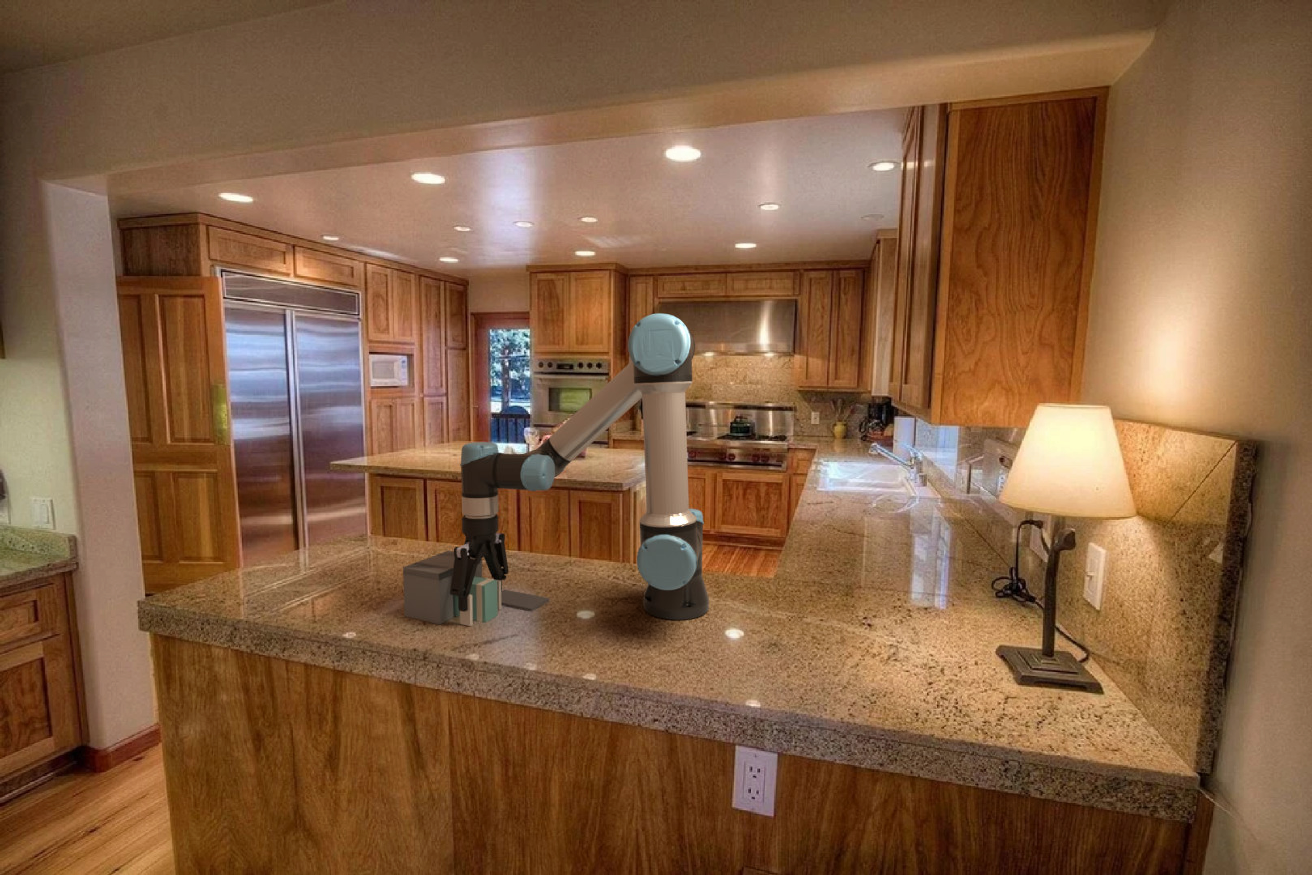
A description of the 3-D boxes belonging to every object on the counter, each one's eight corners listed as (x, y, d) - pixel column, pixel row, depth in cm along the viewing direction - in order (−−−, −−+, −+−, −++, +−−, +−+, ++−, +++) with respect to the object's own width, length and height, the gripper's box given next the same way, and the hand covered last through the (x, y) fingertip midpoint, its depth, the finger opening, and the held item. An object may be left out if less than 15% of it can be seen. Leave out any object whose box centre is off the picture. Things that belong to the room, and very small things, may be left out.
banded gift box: (497, 615, 126) (497, 579, 125) (485, 622, 122) (484, 585, 121) (454, 606, 130) (454, 572, 129) (441, 613, 126) (440, 577, 126)
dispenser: (482, 601, 133) (481, 555, 132) (440, 624, 121) (438, 573, 119) (449, 595, 137) (448, 550, 136) (404, 616, 124) (403, 567, 123)
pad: (549, 600, 134) (549, 598, 134) (531, 611, 128) (531, 608, 128) (504, 591, 139) (504, 589, 139) (485, 601, 133) (485, 599, 133)
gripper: (498, 503, 134) (499, 596, 136) (428, 523, 114) (431, 632, 116) (524, 506, 131) (525, 601, 133) (458, 528, 111) (460, 639, 113)
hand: (481, 615), depth 125 cm, fingers open, 9 cm apart
